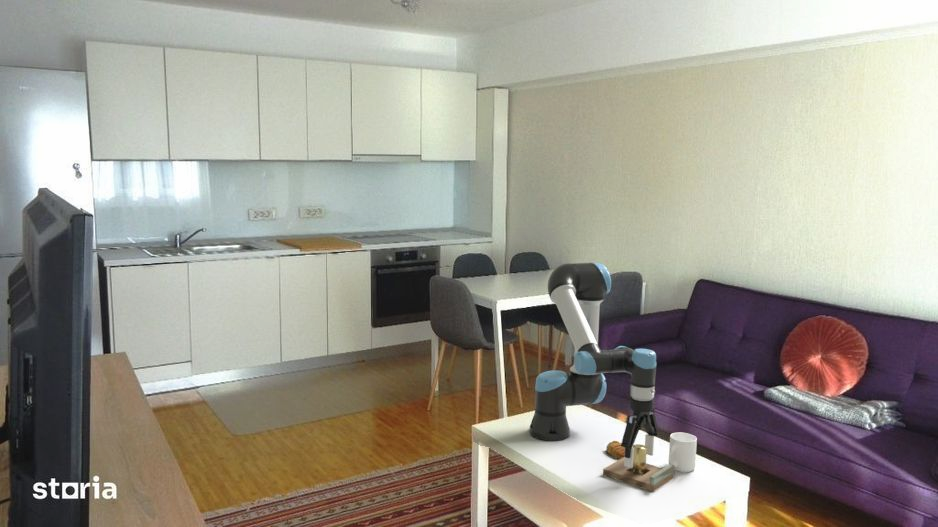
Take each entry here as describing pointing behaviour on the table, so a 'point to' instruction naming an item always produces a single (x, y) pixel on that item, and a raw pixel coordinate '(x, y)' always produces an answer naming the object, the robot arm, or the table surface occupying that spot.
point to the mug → (682, 451)
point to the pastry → (616, 449)
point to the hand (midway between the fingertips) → (638, 460)
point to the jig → (648, 481)
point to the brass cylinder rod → (639, 459)
